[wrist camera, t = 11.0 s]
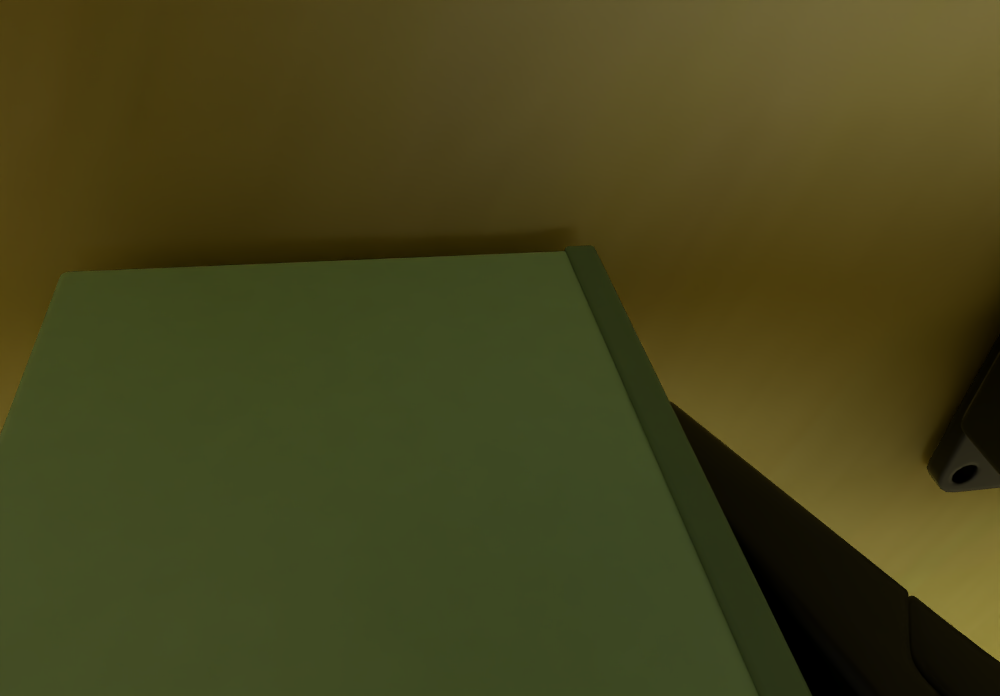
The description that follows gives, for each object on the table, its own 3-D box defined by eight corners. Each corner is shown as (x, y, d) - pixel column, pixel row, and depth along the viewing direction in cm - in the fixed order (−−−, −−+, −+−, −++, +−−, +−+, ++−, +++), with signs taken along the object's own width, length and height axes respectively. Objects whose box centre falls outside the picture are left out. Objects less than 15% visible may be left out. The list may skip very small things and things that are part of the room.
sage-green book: (594, 243, 11) (953, 980, 5) (573, 377, 12) (831, 1076, 6) (58, 265, 10) (-331, 1264, 4) (102, 410, 11) (-125, 1300, 5)
